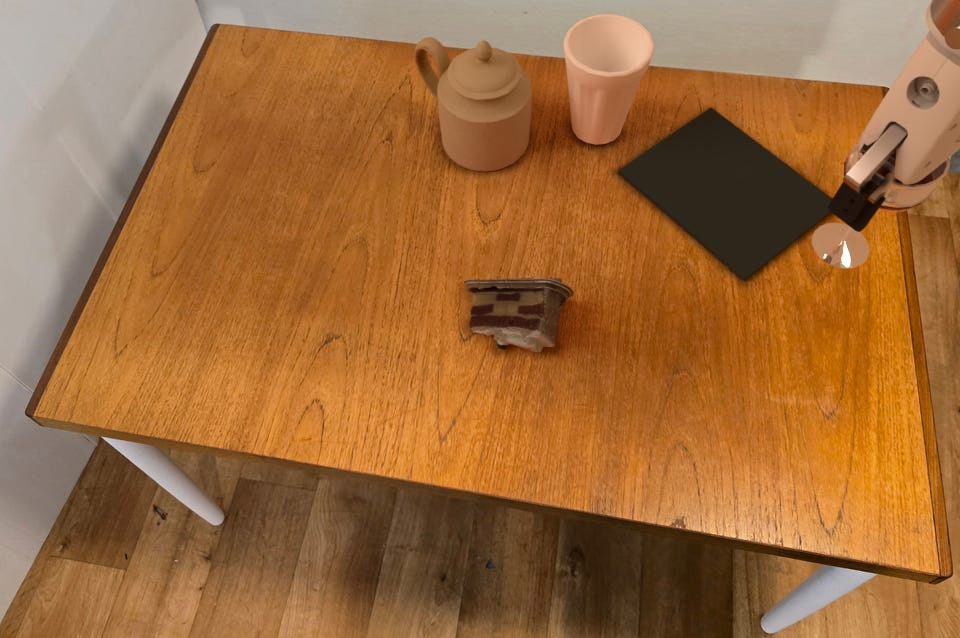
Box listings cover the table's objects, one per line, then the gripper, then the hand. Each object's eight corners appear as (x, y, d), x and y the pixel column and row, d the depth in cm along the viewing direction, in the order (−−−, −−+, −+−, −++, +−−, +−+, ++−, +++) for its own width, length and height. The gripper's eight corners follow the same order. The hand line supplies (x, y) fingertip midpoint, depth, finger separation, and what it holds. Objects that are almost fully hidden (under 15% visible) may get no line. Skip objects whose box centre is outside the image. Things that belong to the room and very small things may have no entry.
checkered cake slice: (446, 342, 79) (521, 337, 70) (456, 279, 81) (532, 266, 72) (512, 362, 85) (589, 359, 76) (520, 302, 87) (598, 293, 77)
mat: (838, 207, 86) (840, 204, 86) (744, 281, 82) (745, 278, 81) (709, 110, 94) (710, 107, 94) (617, 173, 90) (618, 169, 89)
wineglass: (896, 255, 66) (971, 163, 55) (839, 289, 64) (905, 201, 54) (841, 203, 69) (901, 107, 58) (785, 235, 67) (837, 142, 57)
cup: (594, 171, 90) (607, 89, 79) (540, 124, 94) (544, 40, 82) (653, 131, 93) (674, 46, 81) (598, 87, 97) (610, 1, 85)
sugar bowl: (402, 161, 92) (385, 65, 78) (424, 97, 97) (411, -3, 84) (521, 178, 90) (524, 83, 77) (537, 112, 95) (542, 12, 82)
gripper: (973, 110, 41) (843, 283, 56) (1139, -23, 46) (978, 169, 61) (860, 38, 44) (766, 221, 59) (1028, -79, 49) (901, 118, 64)
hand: (875, 194), depth 60 cm, fingers closed on wineglass, 6 cm apart
